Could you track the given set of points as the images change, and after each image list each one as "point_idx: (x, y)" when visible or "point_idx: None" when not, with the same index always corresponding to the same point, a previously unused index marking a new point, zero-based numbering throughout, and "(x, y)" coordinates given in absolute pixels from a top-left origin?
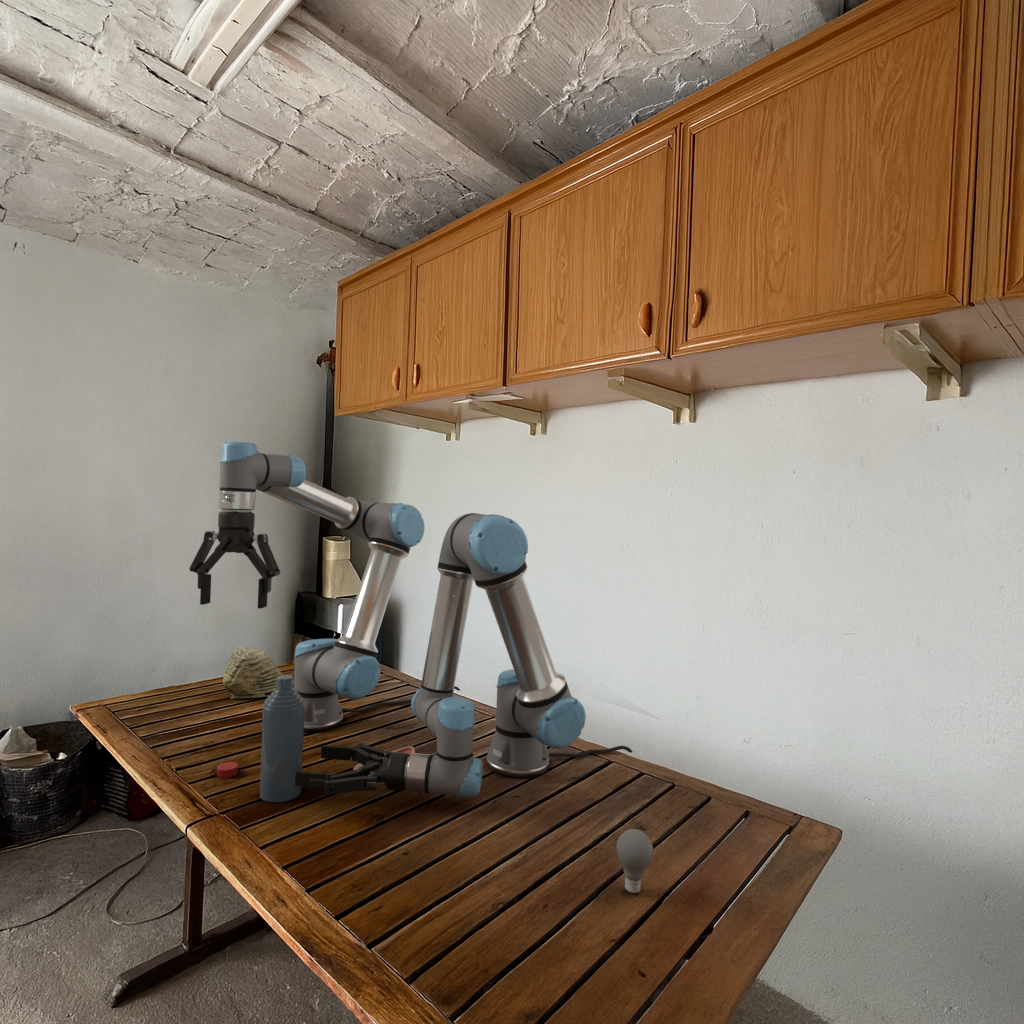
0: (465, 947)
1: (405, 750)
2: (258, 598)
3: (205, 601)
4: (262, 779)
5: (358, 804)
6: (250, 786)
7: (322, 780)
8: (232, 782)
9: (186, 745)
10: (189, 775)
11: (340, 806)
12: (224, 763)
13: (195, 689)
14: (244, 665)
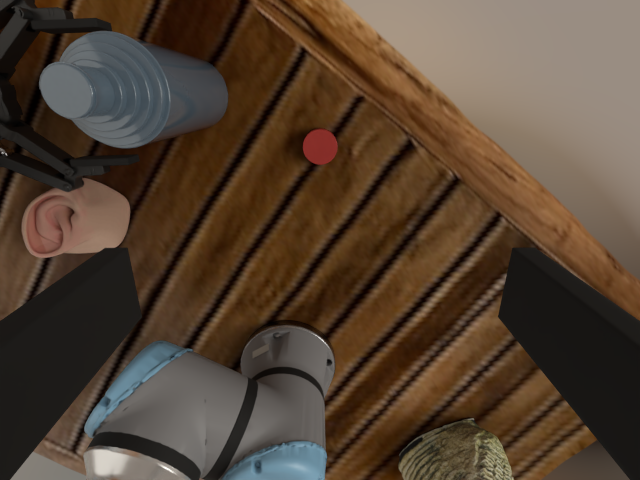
0: None
1: (50, 251)
2: (83, 276)
3: (517, 278)
4: (200, 61)
5: None
6: (256, 107)
7: (36, 9)
8: (293, 115)
9: (446, 235)
10: (377, 125)
11: None
12: (330, 155)
13: (550, 442)
14: (470, 472)
